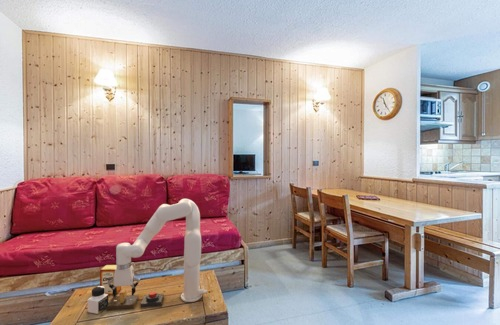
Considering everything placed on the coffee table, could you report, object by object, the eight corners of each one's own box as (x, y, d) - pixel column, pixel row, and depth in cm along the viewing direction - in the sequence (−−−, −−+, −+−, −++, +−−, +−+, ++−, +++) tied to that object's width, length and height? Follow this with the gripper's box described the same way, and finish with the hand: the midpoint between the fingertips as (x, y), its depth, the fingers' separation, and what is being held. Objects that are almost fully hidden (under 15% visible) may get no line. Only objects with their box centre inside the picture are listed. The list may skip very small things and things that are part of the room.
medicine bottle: (98, 314, 133) (98, 292, 133) (87, 312, 134) (87, 290, 134) (108, 306, 140) (108, 285, 140) (97, 304, 141) (97, 283, 141)
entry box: (163, 297, 150) (163, 290, 150) (160, 306, 141) (161, 299, 141) (144, 298, 148) (144, 292, 148) (140, 307, 139) (140, 300, 139)
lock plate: (138, 298, 148) (138, 294, 148) (133, 308, 138) (133, 303, 138) (113, 300, 146) (113, 296, 146) (106, 310, 136) (106, 306, 136)
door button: (156, 294, 147) (156, 291, 147) (155, 297, 143) (155, 294, 143) (150, 294, 146) (150, 291, 146) (148, 298, 143) (148, 295, 143)
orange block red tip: (123, 297, 145) (123, 288, 145) (126, 297, 145) (126, 288, 145) (119, 303, 139) (119, 293, 139) (123, 302, 139) (123, 293, 139)
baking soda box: (99, 295, 151) (100, 268, 151) (105, 289, 158) (105, 264, 158) (115, 295, 152) (116, 269, 152) (120, 289, 158) (121, 264, 158)
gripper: (141, 261, 147) (141, 290, 147) (110, 263, 144) (110, 292, 144) (138, 267, 140) (138, 297, 140) (104, 269, 137) (105, 300, 137)
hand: (124, 295), depth 142 cm, fingers open, 9 cm apart
